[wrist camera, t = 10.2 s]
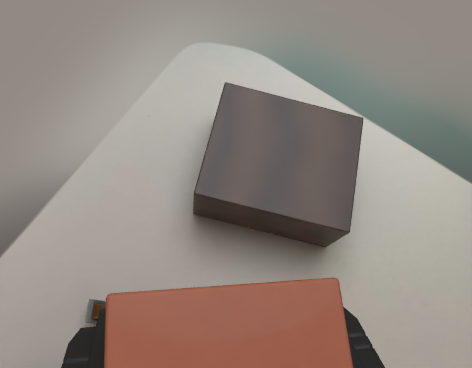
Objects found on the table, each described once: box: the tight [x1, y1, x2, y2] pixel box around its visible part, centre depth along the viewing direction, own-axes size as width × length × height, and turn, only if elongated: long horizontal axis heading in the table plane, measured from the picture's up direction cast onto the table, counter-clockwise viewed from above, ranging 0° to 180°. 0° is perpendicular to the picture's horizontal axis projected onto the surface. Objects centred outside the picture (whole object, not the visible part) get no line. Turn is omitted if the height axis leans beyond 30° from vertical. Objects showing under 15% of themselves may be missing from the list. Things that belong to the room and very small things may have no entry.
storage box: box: [193, 83, 363, 247], centre depth 37 cm, size 13×11×6 cm
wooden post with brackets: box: [85, 299, 106, 323], centre depth 32 cm, size 2×8×4 cm, turn 87°
